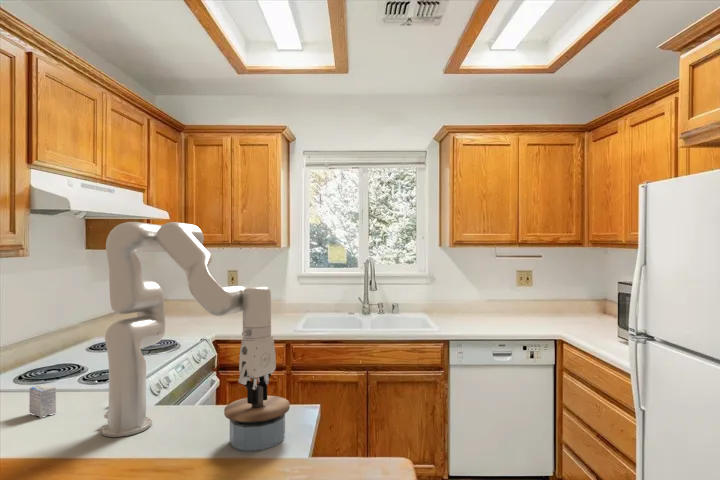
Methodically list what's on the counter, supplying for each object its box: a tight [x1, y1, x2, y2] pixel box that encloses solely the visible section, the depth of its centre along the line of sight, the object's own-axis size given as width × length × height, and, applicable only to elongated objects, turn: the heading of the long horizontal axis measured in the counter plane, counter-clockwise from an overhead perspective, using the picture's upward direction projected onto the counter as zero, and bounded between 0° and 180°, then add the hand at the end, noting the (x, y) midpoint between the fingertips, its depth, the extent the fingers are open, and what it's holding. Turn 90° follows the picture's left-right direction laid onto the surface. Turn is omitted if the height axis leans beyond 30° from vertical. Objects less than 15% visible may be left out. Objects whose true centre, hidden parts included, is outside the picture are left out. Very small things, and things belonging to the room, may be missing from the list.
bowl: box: [229, 413, 286, 452], centre depth 111 cm, size 14×14×6 cm
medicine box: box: [28, 384, 57, 418], centre depth 134 cm, size 8×4×9 cm, turn 59°
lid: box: [223, 385, 291, 422], centre depth 111 cm, size 17×17×6 cm
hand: (257, 400), depth 111 cm, fingers closed on lid, 3 cm apart
